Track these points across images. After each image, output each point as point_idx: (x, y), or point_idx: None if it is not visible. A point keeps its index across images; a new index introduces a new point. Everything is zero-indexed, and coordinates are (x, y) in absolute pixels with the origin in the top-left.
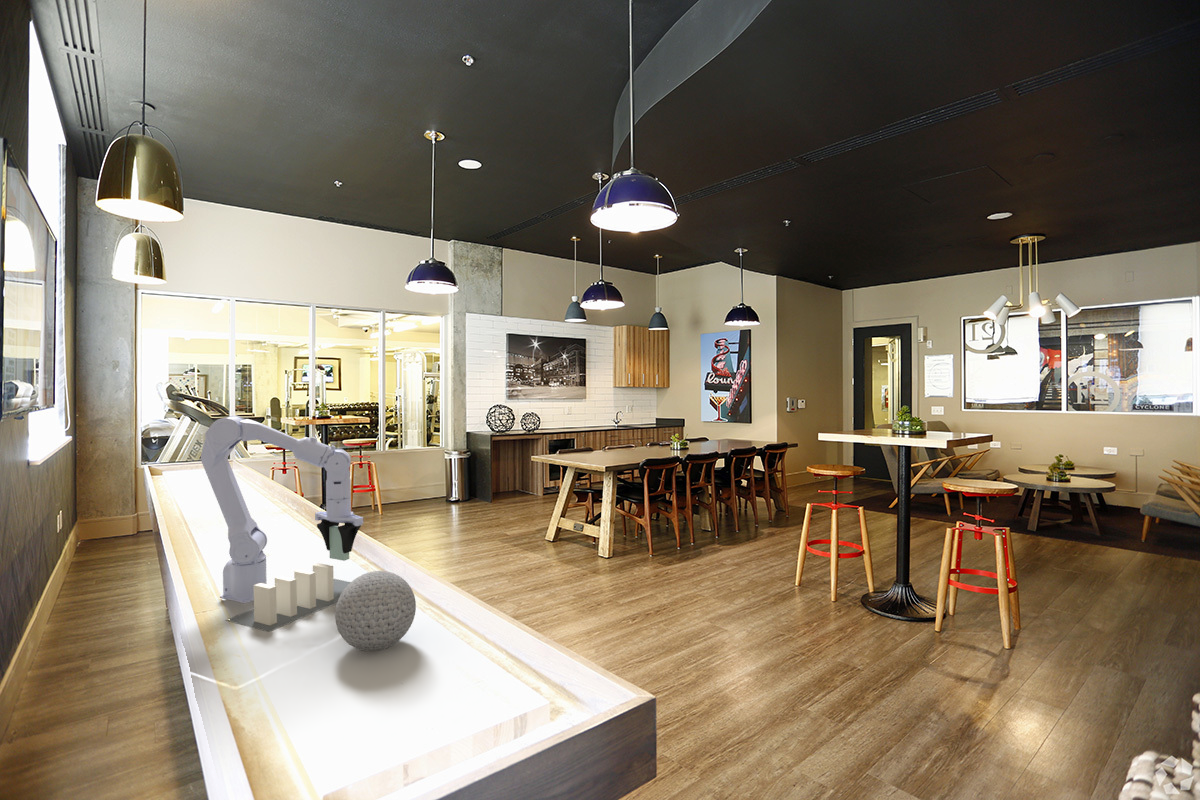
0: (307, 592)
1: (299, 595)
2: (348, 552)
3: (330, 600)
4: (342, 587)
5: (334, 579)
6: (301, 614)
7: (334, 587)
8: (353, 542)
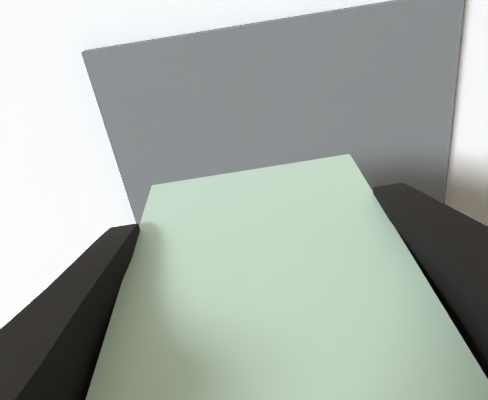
0: None
1: None
2: (368, 194)
3: None
4: (285, 118)
5: (102, 61)
6: None
7: (245, 146)
8: (479, 225)
